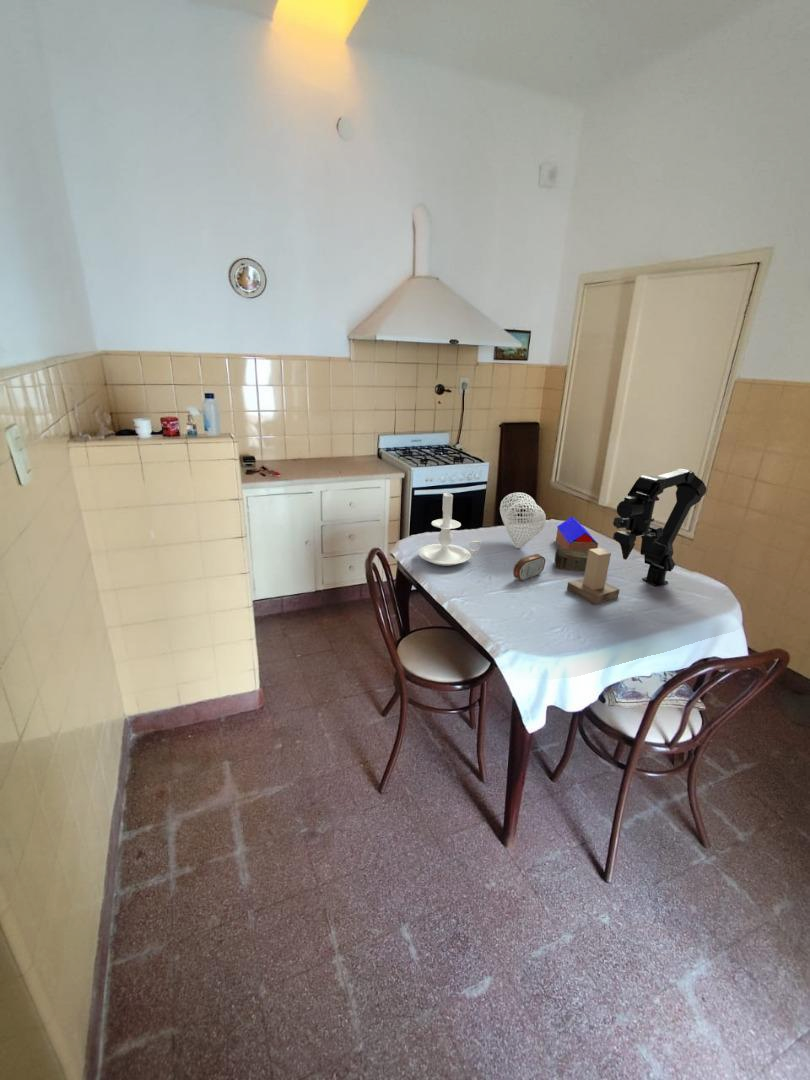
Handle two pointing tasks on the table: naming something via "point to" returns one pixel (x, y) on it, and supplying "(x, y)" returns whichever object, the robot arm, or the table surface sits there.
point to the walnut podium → (593, 592)
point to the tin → (529, 567)
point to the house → (574, 536)
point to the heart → (534, 518)
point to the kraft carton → (596, 568)
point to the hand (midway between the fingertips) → (633, 556)
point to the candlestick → (446, 540)
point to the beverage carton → (571, 559)
